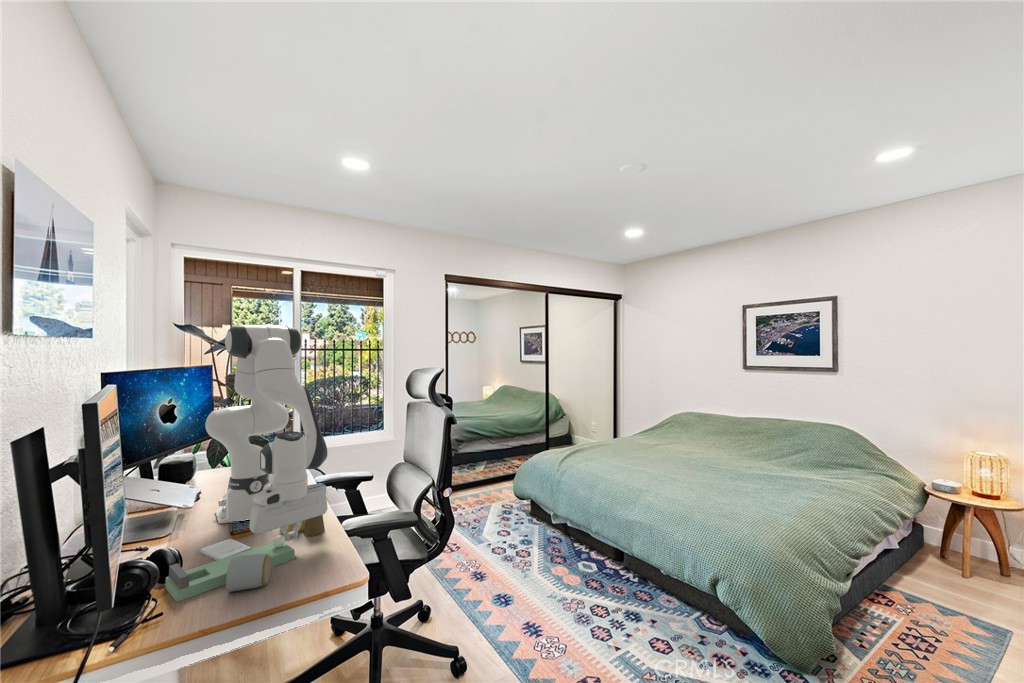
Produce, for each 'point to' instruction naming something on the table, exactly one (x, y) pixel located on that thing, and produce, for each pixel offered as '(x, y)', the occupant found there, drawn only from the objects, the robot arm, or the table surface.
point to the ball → (279, 541)
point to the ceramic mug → (248, 572)
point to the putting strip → (216, 572)
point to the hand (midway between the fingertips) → (291, 539)
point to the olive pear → (314, 526)
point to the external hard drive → (224, 549)
